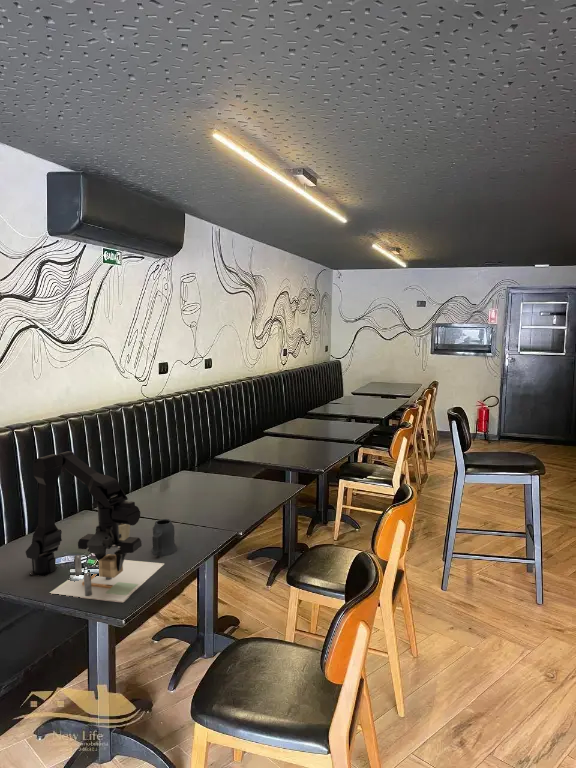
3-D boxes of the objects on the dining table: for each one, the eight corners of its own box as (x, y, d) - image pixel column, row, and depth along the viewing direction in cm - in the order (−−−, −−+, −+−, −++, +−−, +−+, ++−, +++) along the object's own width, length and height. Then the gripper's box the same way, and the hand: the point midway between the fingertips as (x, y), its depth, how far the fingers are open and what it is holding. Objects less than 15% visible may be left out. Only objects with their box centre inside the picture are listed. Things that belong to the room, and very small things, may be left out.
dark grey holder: (158, 546, 203) (156, 516, 202) (181, 547, 201) (180, 517, 200) (143, 559, 191) (141, 528, 190) (167, 561, 189) (166, 529, 188)
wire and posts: (85, 596, 164) (84, 575, 163) (74, 574, 179) (73, 555, 178) (118, 588, 169) (117, 568, 168) (105, 567, 184) (104, 549, 183)
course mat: (49, 594, 167) (49, 592, 167) (99, 558, 193) (99, 556, 193) (123, 602, 161) (123, 600, 161) (164, 564, 187) (164, 563, 187)
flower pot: (102, 544, 206) (101, 521, 205) (125, 537, 212) (124, 515, 212) (114, 551, 199) (113, 528, 198) (137, 543, 206) (136, 521, 205)
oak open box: (108, 569, 172) (107, 554, 172) (122, 570, 171) (122, 555, 170) (99, 576, 167) (98, 560, 167) (114, 577, 166) (113, 561, 166)
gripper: (64, 528, 162) (68, 579, 164) (121, 532, 157) (124, 584, 159) (87, 515, 173) (90, 563, 174) (141, 519, 168) (143, 568, 170)
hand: (111, 570), depth 169 cm, fingers closed on oak open box, 5 cm apart
